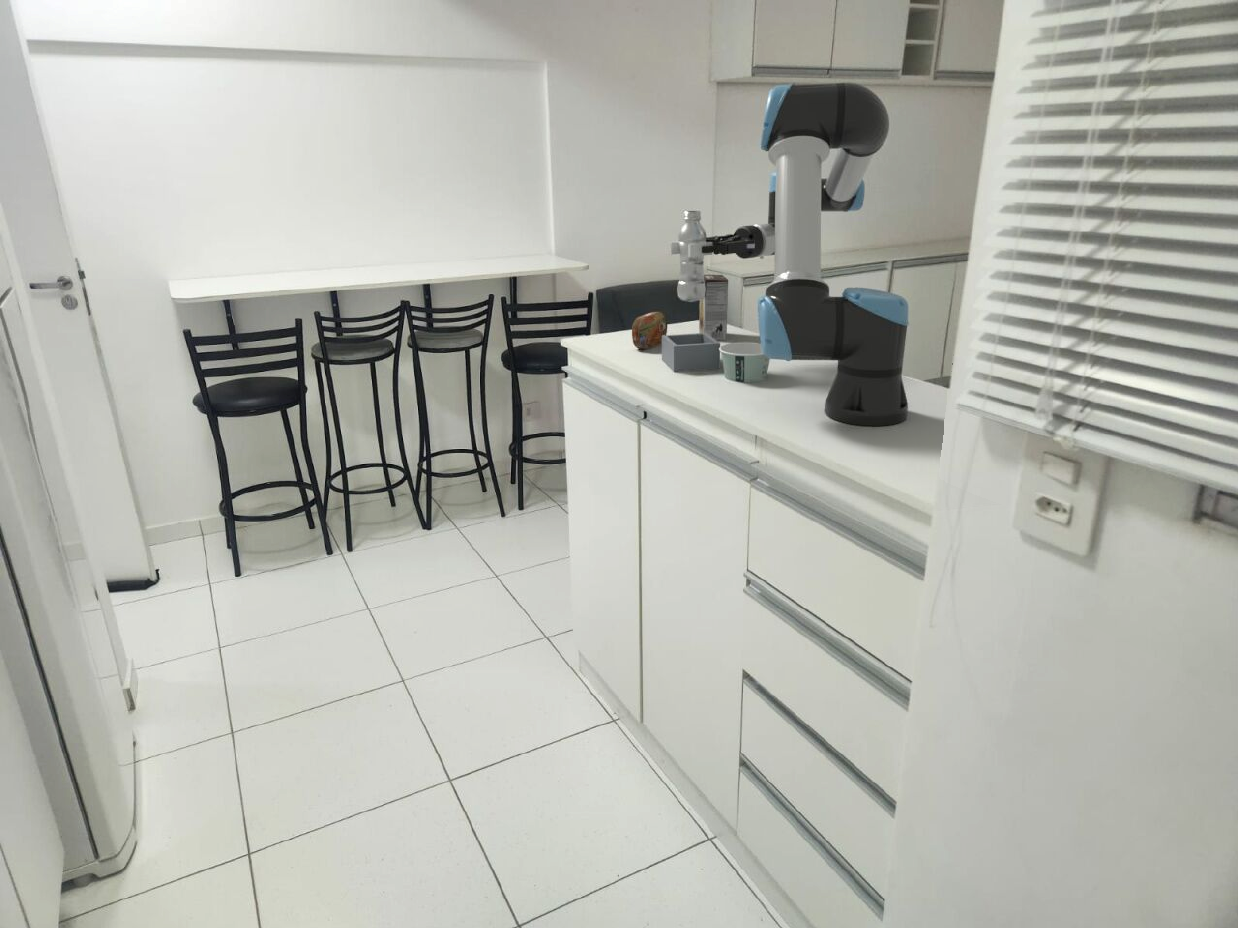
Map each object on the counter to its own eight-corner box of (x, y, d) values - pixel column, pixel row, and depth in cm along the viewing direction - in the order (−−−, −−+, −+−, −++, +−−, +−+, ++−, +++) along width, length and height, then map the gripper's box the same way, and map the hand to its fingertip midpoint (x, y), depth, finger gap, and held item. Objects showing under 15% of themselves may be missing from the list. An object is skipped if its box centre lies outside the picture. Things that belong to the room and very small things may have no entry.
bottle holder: (719, 368, 187) (720, 343, 185) (673, 371, 185) (674, 346, 183) (705, 356, 198) (705, 332, 196) (661, 359, 196) (661, 335, 194)
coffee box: (698, 333, 224) (699, 274, 218) (721, 332, 224) (722, 274, 218) (703, 340, 215) (704, 279, 210) (727, 339, 216) (728, 278, 210)
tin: (640, 352, 204) (640, 319, 201) (629, 351, 206) (629, 318, 203) (668, 340, 216) (668, 309, 213) (658, 339, 218) (658, 308, 215)
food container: (771, 384, 174) (773, 355, 171) (716, 383, 176) (716, 353, 174) (772, 370, 185) (774, 342, 182) (720, 369, 187) (721, 341, 185)
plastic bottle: (671, 301, 187) (671, 211, 179) (691, 297, 191) (692, 210, 184) (691, 305, 182) (692, 213, 175) (711, 301, 186) (713, 211, 179)
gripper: (782, 261, 187) (707, 270, 174) (726, 254, 201) (653, 262, 189) (784, 227, 184) (708, 235, 172) (727, 223, 198) (653, 229, 186)
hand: (679, 249), depth 180 cm, fingers closed on plastic bottle, 6 cm apart
